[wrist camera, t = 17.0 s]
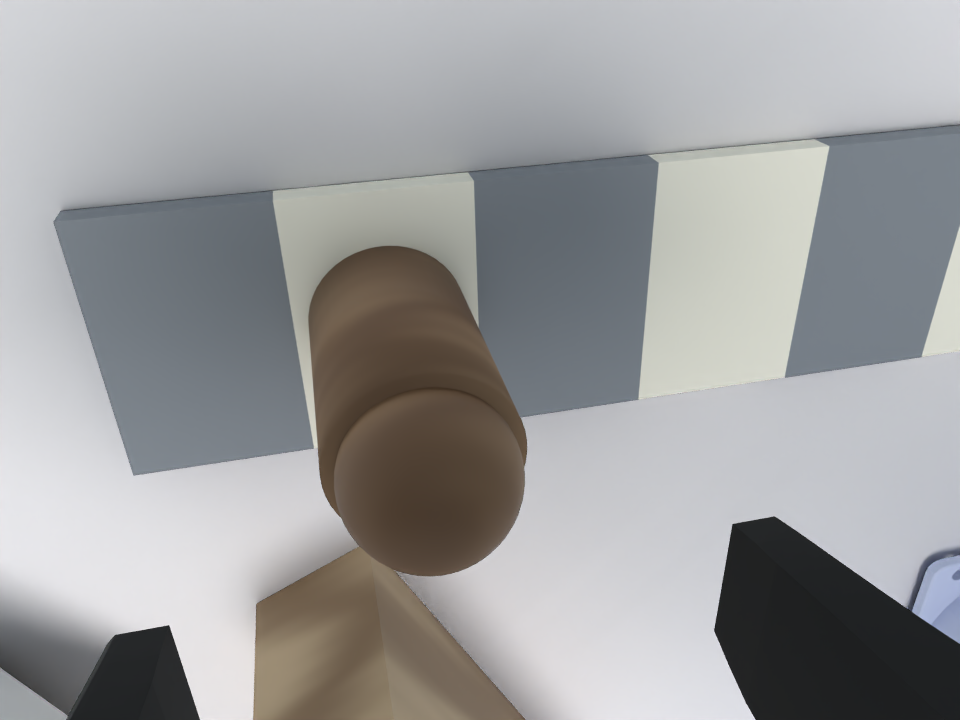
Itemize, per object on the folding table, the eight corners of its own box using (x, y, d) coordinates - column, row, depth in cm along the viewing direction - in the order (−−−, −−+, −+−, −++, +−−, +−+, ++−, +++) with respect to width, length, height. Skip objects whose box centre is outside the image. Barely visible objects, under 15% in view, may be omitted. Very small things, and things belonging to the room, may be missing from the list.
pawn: (466, 241, 17) (571, 432, 11) (463, 378, 19) (552, 610, 13) (301, 250, 16) (317, 460, 10) (314, 392, 18) (333, 643, 12)
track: (1112, 110, 20) (1134, 116, 19) (1032, 327, 23) (1049, 337, 22) (60, 211, 15) (53, 221, 15) (137, 459, 19) (133, 475, 18)
